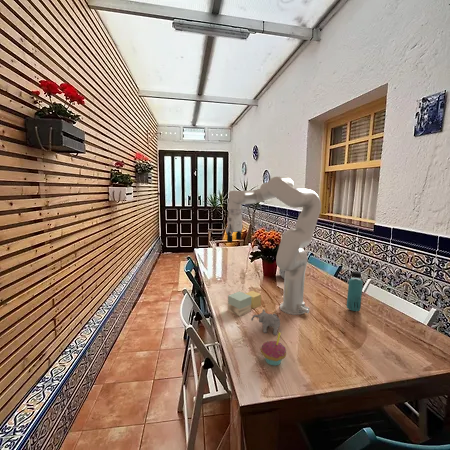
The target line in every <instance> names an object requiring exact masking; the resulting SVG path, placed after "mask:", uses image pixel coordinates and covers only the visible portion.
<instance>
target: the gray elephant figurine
mask: <svg viewBox="0 0 450 450" xmlns="http://www.w3.org/2000/svg"><path fill="white" fill-rule="evenodd" d="M254 318H258V322H259V323H261V324H262V332H263V334H267V333H268V327H269V328H273V330H272V334H273V336H278V330H279V328H280V326H281V319H280V318H279V316H278V315H277V313H274V312H273V314H272V313H267V312H266V309H262V311H261V312H260V314H253V316H252V317H251V319H250V320H251V321H252V322H253V320H254Z"/></svg>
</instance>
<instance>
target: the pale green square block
mask: <svg viewBox="0 0 450 450" xmlns="http://www.w3.org/2000/svg"><path fill="white" fill-rule="evenodd" d="M245 293H246V292H245ZM245 293H244V292H242V291H236V292H234V293H231V294H229V295H227V305H228V304H230V305H232V306H234V307H236V308H238V309H241V308H244V307H246V306H248V305H251V297H252V296H250V295H247V294H245Z"/></svg>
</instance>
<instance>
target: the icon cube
mask: <svg viewBox="0 0 450 450" xmlns="http://www.w3.org/2000/svg"><path fill="white" fill-rule="evenodd" d="M278 269H279V276H281V278H282V279H284V278H285V271H283V270H281V269H280V268H279V267H278Z"/></svg>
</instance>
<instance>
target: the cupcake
mask: <svg viewBox="0 0 450 450" xmlns="http://www.w3.org/2000/svg"><path fill="white" fill-rule="evenodd" d="M281 332H282V330H280V331H279V332H278V333H277V338H276V340H269V341H266V342H264V343H263V344H262V345H261V348H260V353H261V355H262V356H263V358H264V359H265V362H266V363H267V364H268V365H270V366H279V365H280V364H281V362H282V361H283V360H284V359H286V356H287V349H286V346H284V344H282V343H281V342H280V338H281V334H282V333H281Z"/></svg>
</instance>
